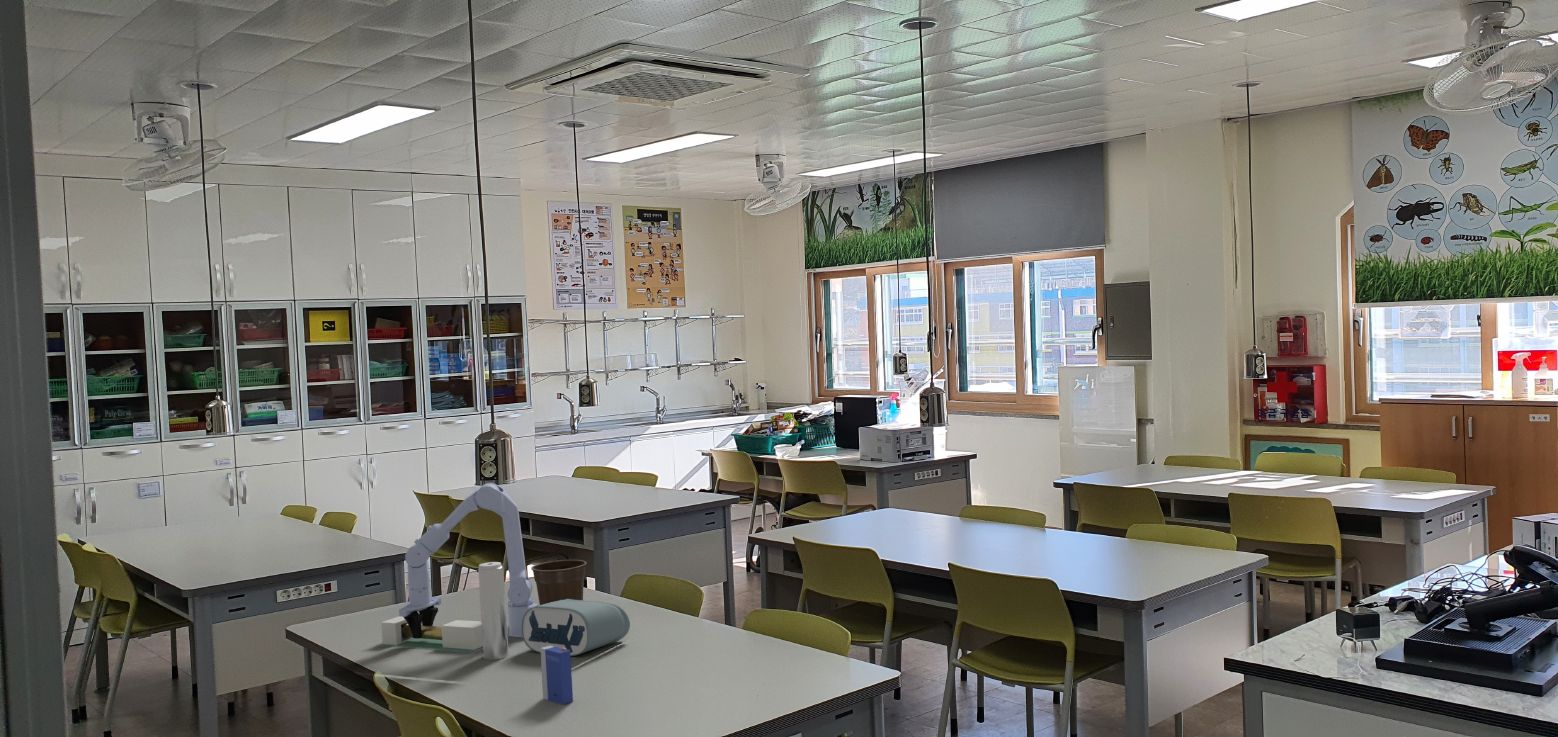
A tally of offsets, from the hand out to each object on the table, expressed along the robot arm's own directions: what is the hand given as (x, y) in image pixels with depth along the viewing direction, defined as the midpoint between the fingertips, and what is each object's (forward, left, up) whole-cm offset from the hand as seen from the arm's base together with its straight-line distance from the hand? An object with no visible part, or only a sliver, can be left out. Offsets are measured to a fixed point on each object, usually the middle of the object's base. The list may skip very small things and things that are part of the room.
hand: (422, 636), depth 306 cm
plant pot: (-23, -34, -2) cm, 41 cm away
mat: (-5, 0, -2) cm, 5 cm away
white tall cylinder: (-31, +7, -2) cm, 32 cm away
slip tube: (-4, 0, -1) cm, 4 cm away
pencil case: (-47, -7, -3) cm, 47 cm away
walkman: (-68, +32, -2) cm, 75 cm away
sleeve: (-15, 0, -2) cm, 15 cm away
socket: (+8, 0, -2) cm, 8 cm away
